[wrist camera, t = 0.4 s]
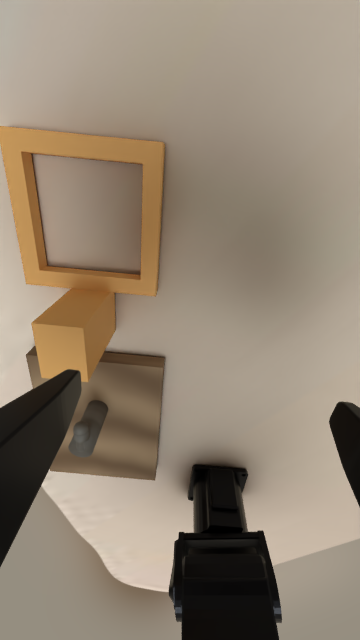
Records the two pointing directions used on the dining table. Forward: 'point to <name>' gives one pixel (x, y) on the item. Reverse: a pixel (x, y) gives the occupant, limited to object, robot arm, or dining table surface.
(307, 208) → the dining table surface
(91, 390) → the hook plate
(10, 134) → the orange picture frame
